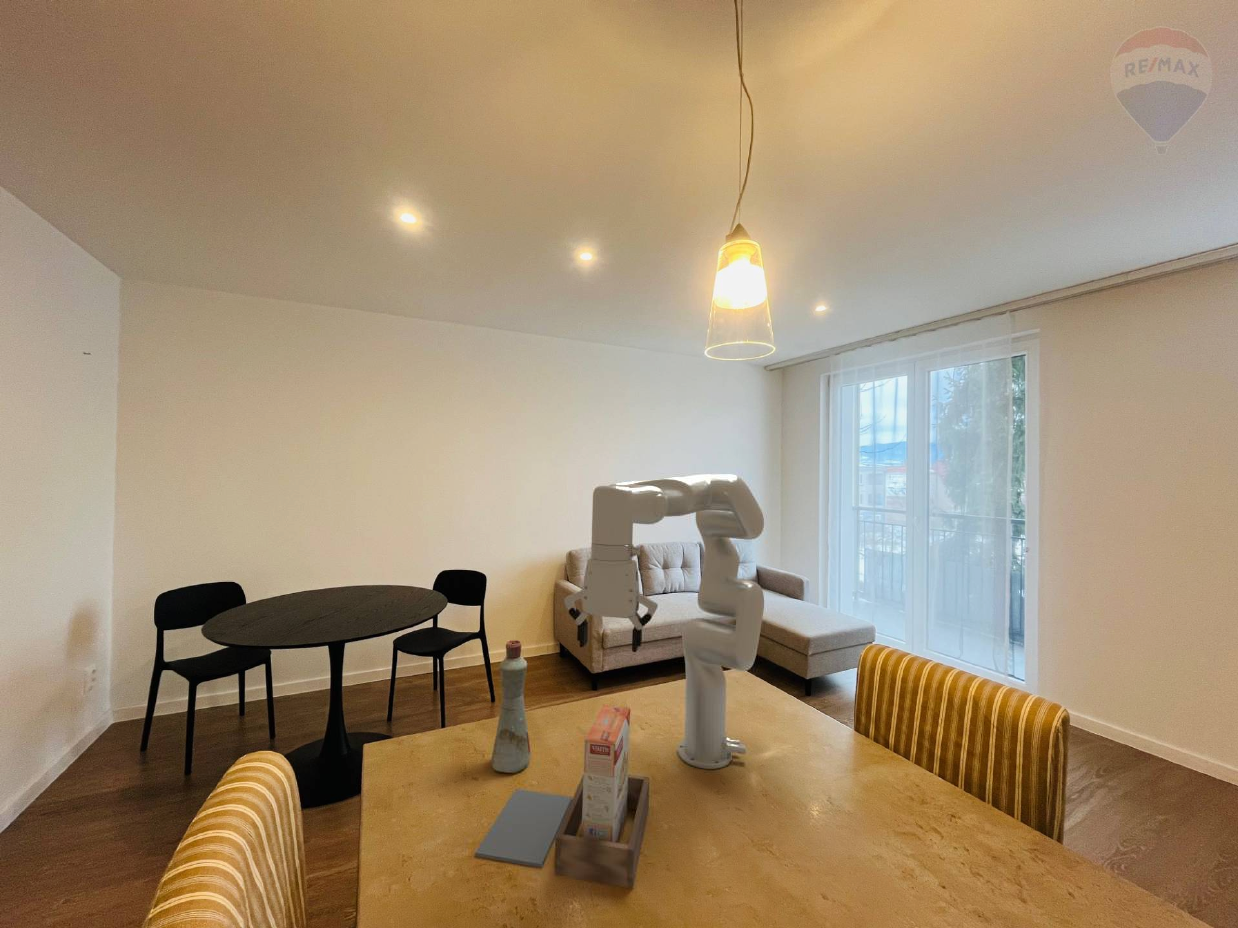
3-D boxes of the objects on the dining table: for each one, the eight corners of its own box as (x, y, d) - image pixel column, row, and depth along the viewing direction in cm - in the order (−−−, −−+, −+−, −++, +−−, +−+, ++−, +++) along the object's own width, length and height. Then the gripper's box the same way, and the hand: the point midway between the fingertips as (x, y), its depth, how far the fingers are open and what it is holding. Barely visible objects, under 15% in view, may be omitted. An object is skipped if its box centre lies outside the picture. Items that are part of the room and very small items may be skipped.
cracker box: (614, 870, 83) (616, 742, 84) (579, 864, 84) (582, 738, 85) (629, 815, 97) (631, 705, 97) (599, 810, 98) (601, 702, 99)
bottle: (481, 770, 111) (485, 642, 111) (505, 750, 119) (509, 631, 120) (515, 780, 107) (518, 648, 108) (537, 758, 116) (540, 636, 116)
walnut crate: (648, 807, 99) (649, 776, 99) (632, 888, 80) (633, 850, 80) (585, 798, 102) (585, 768, 102) (554, 874, 82) (555, 837, 82)
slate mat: (571, 799, 101) (572, 796, 101) (541, 867, 83) (541, 863, 84) (515, 791, 103) (515, 788, 103) (474, 856, 86) (475, 852, 86)
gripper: (660, 552, 94) (658, 645, 93) (571, 548, 97) (569, 637, 97) (656, 558, 87) (653, 658, 86) (560, 553, 90) (557, 649, 89)
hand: (609, 647), depth 91 cm, fingers open, 9 cm apart
